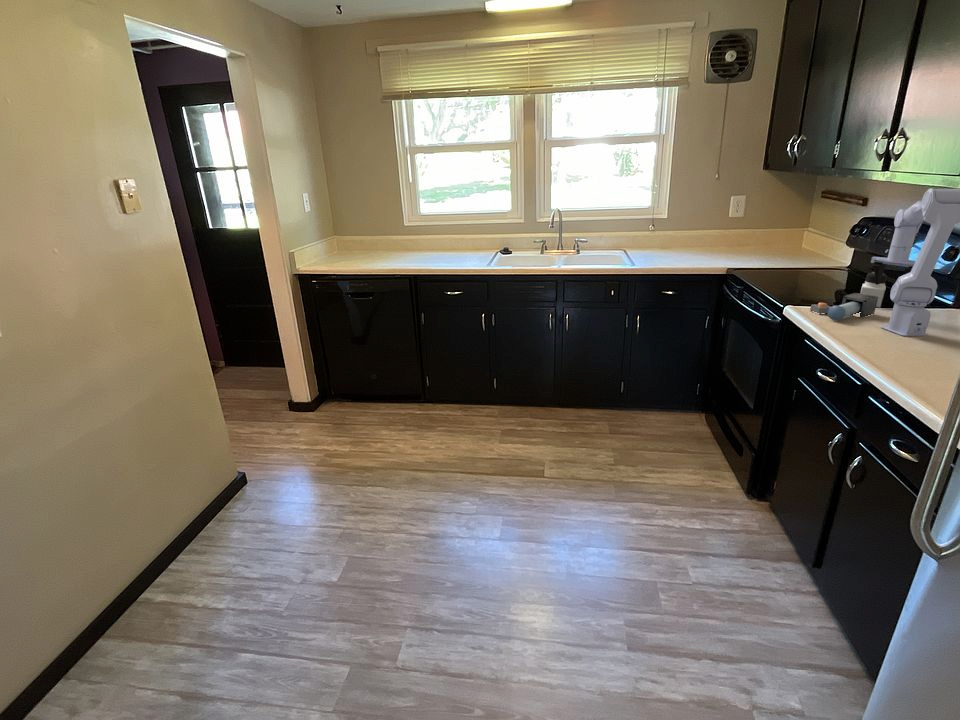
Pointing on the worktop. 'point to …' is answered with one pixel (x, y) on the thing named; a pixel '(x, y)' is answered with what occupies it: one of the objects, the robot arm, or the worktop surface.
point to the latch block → (819, 309)
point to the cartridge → (844, 310)
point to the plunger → (822, 304)
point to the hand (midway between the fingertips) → (890, 286)
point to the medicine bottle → (874, 287)
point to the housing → (867, 300)
